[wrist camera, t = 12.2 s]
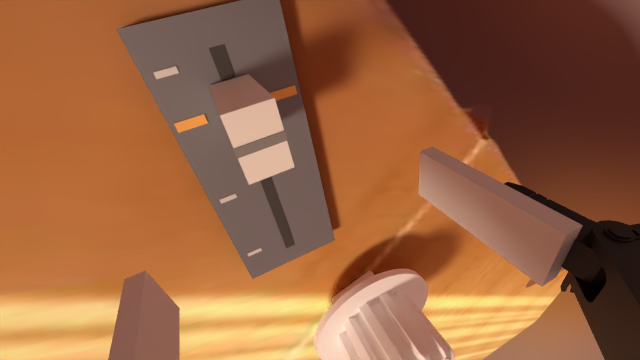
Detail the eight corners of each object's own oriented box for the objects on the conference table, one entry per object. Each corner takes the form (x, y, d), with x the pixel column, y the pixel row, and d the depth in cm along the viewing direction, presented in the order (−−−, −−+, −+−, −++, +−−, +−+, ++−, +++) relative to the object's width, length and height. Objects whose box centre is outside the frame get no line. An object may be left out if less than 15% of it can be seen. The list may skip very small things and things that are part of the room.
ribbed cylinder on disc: (332, 347, 66) (376, 444, 51) (280, 305, 51) (321, 426, 36) (416, 285, 68) (482, 362, 53) (390, 227, 53) (472, 311, 38)
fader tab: (231, 140, 30) (248, 186, 22) (208, 85, 27) (219, 116, 19) (266, 128, 31) (295, 167, 23) (248, 73, 28) (275, 98, 20)
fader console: (250, 269, 43) (252, 279, 42) (120, 28, 24) (116, 29, 22) (329, 232, 47) (335, 240, 45) (272, -7, 27) (278, -9, 25)
